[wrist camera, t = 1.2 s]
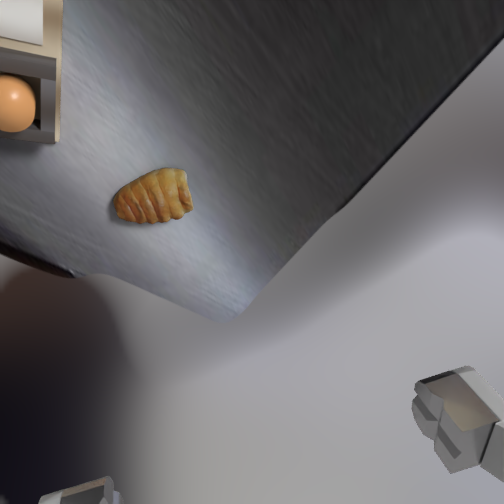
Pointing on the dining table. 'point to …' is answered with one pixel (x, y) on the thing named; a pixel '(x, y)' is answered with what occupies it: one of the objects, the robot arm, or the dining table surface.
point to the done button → (16, 103)
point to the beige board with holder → (34, 60)
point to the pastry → (155, 197)
